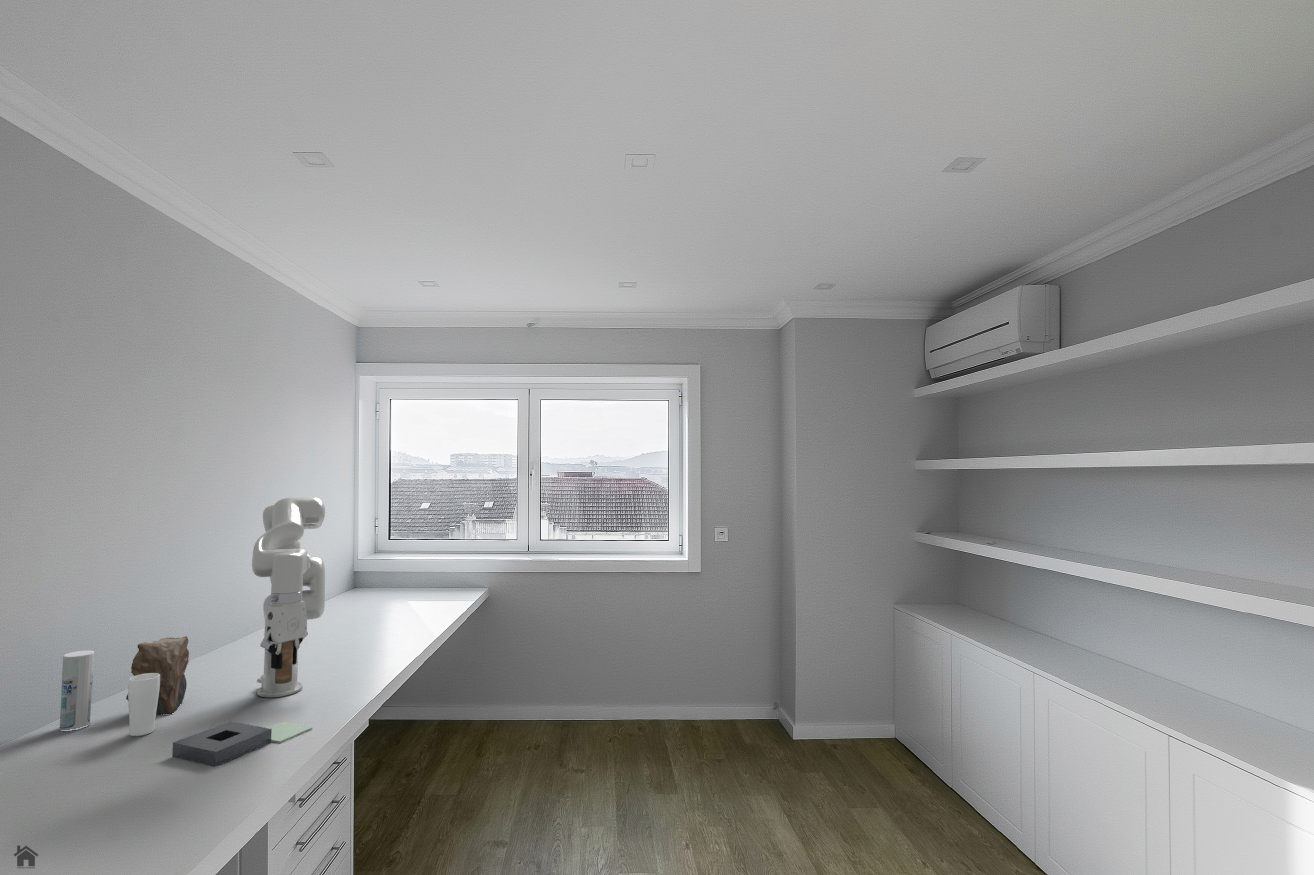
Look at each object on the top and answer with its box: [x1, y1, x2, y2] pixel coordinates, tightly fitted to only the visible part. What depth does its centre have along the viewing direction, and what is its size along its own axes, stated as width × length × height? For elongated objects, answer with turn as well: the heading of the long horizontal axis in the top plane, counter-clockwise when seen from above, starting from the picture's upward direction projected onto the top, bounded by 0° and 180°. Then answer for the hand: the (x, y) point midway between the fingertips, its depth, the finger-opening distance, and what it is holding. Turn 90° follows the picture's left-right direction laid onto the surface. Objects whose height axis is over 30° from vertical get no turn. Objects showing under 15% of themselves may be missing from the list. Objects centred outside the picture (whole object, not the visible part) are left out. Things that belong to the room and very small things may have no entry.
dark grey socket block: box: [171, 720, 272, 768], centre depth 166 cm, size 15×15×4 cm
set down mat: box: [267, 721, 313, 744], centre depth 176 cm, size 11×10×1 cm
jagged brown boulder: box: [125, 635, 190, 716], centre depth 194 cm, size 13×13×20 cm
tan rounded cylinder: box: [275, 640, 293, 684], centre depth 177 cm, size 4×4×12 cm
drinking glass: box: [127, 673, 160, 737], centre depth 176 cm, size 7×7×15 cm
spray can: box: [59, 650, 95, 731], centre depth 179 cm, size 6×6×20 cm
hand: (283, 665), depth 177 cm, fingers closed on tan rounded cylinder, 4 cm apart
